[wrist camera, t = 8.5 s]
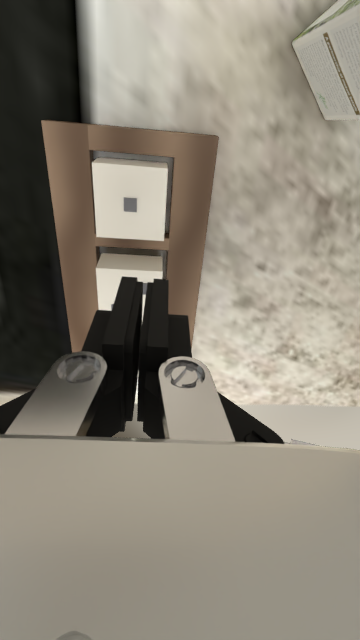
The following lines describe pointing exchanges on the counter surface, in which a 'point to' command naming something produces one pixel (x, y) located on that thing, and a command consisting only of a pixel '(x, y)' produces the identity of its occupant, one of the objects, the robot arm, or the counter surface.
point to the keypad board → (83, 246)
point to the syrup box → (333, 60)
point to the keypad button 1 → (130, 198)
